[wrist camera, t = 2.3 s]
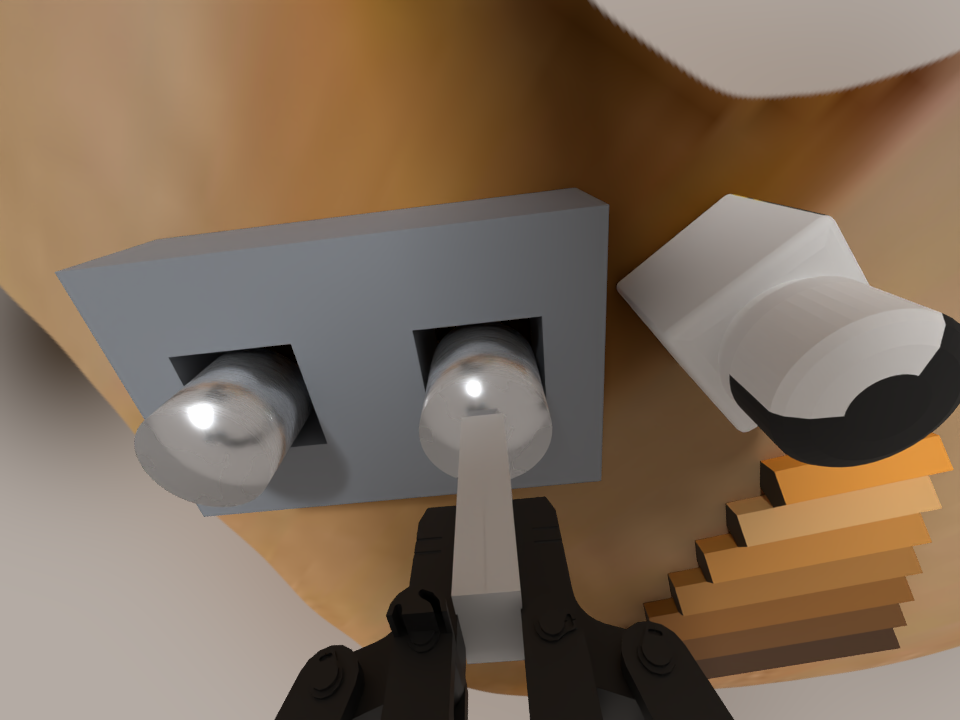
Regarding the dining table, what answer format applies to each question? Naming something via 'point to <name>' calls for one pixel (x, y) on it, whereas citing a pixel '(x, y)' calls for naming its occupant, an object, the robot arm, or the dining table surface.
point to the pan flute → (807, 564)
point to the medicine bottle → (797, 334)
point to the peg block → (368, 328)
